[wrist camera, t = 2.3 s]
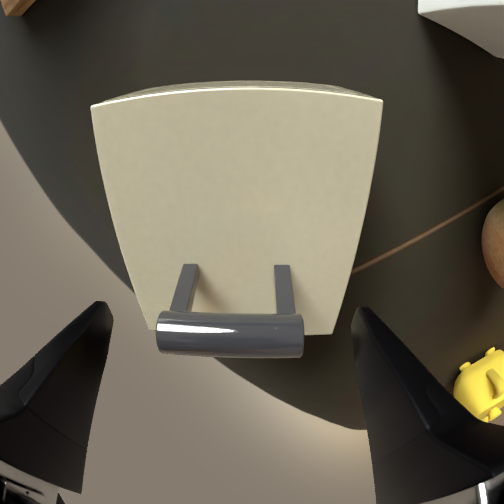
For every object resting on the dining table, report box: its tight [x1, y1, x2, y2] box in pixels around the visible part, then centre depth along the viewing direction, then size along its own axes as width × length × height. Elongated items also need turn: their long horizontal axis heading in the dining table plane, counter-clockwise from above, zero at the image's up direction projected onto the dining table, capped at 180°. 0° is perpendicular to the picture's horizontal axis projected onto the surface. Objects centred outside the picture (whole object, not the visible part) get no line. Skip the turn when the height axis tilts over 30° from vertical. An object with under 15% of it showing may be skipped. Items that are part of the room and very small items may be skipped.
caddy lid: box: [91, 87, 383, 358], centre depth 10 cm, size 12×11×5 cm
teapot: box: [453, 347, 504, 423], centre depth 29 cm, size 18×11×11 cm, turn 30°
